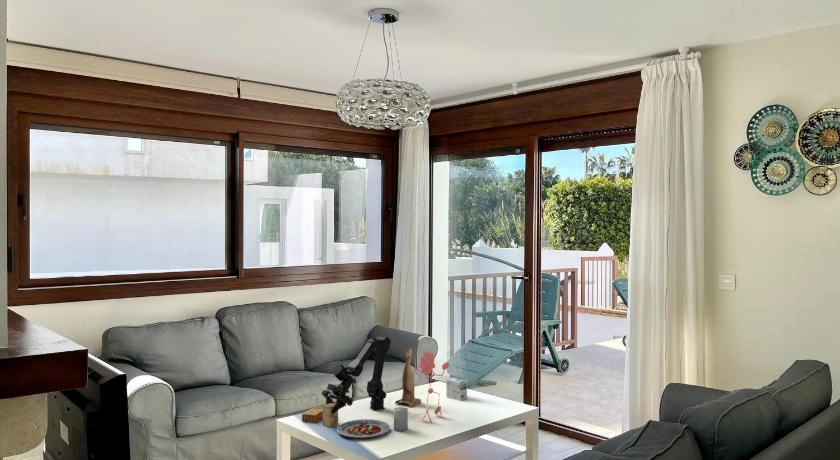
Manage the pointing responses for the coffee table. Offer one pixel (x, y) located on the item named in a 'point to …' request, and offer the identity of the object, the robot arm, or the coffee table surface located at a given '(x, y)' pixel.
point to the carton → (313, 414)
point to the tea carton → (329, 415)
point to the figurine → (427, 366)
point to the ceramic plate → (363, 428)
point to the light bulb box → (456, 389)
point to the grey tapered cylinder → (400, 419)
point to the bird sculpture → (408, 383)
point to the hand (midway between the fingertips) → (328, 412)
